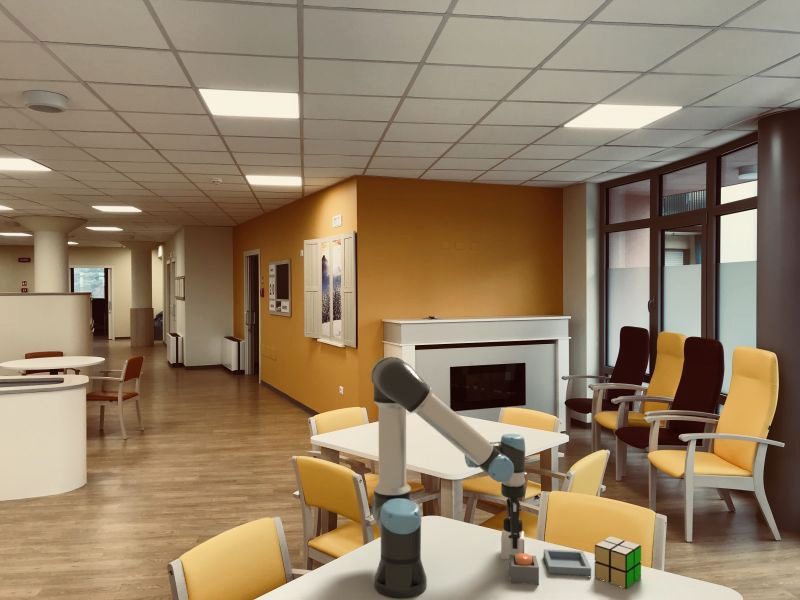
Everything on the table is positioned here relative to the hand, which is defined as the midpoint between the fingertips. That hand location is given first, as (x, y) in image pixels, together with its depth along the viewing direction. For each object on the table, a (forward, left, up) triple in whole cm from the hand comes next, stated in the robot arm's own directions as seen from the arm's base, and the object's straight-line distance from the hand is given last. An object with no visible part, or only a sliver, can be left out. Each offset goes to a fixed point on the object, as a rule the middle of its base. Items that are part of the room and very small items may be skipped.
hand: (512, 549), depth 198 cm
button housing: (+2, -15, -2) cm, 15 cm away
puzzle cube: (+30, -12, -3) cm, 32 cm away
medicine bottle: (0, 0, -2) cm, 2 cm away
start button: (+2, -15, +2) cm, 15 cm away
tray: (+16, -6, -2) cm, 17 cm away
